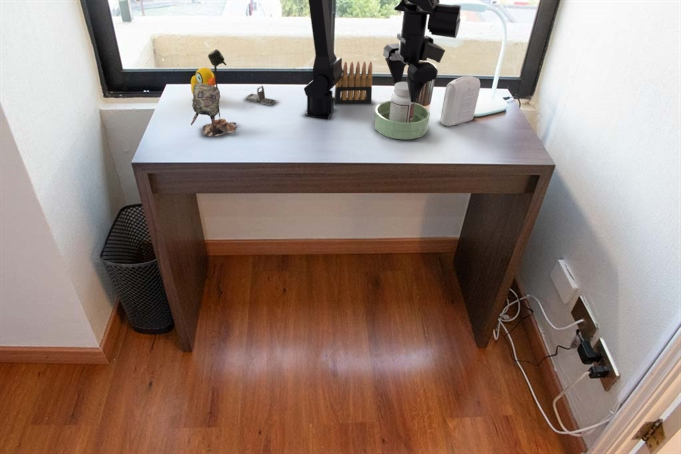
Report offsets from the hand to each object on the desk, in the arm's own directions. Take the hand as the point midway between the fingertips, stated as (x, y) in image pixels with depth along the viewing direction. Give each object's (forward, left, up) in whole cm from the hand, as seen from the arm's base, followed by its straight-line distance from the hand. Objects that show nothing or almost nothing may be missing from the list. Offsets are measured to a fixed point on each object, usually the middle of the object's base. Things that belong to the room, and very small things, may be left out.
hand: (405, 94), depth 128 cm
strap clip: (-41, +4, -10) cm, 42 cm away
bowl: (0, 0, -10) cm, 10 cm away
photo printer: (+14, +10, -10) cm, 20 cm away
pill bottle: (0, 0, -9) cm, 9 cm away
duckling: (-55, -2, -10) cm, 56 cm away
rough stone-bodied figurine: (-45, -17, -10) cm, 49 cm away
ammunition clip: (-16, +12, -10) cm, 22 cm away
